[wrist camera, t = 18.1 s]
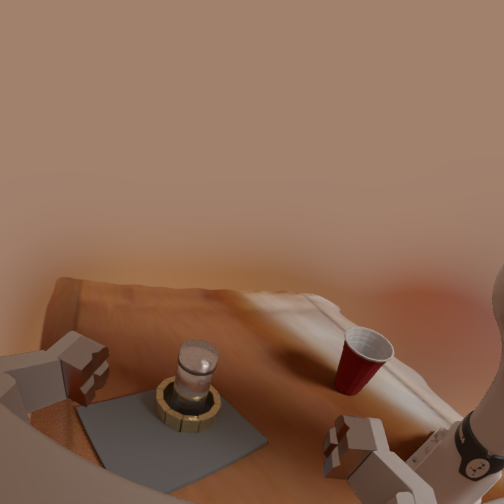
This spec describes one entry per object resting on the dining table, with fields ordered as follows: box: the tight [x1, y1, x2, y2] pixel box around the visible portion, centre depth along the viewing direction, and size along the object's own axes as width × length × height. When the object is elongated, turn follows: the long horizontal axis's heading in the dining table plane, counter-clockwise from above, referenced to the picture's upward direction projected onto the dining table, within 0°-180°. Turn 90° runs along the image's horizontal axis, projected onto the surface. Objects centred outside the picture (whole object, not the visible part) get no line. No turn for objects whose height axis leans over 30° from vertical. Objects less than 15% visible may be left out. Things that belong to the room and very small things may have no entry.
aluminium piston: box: [170, 340, 219, 416], centre depth 39 cm, size 5×5×12 cm
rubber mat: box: [76, 388, 268, 494], centre depth 37 cm, size 23×17×1 cm
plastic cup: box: [334, 327, 394, 396], centre depth 55 cm, size 11×11×12 cm
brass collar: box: [155, 376, 221, 433], centre depth 41 cm, size 10×10×3 cm
